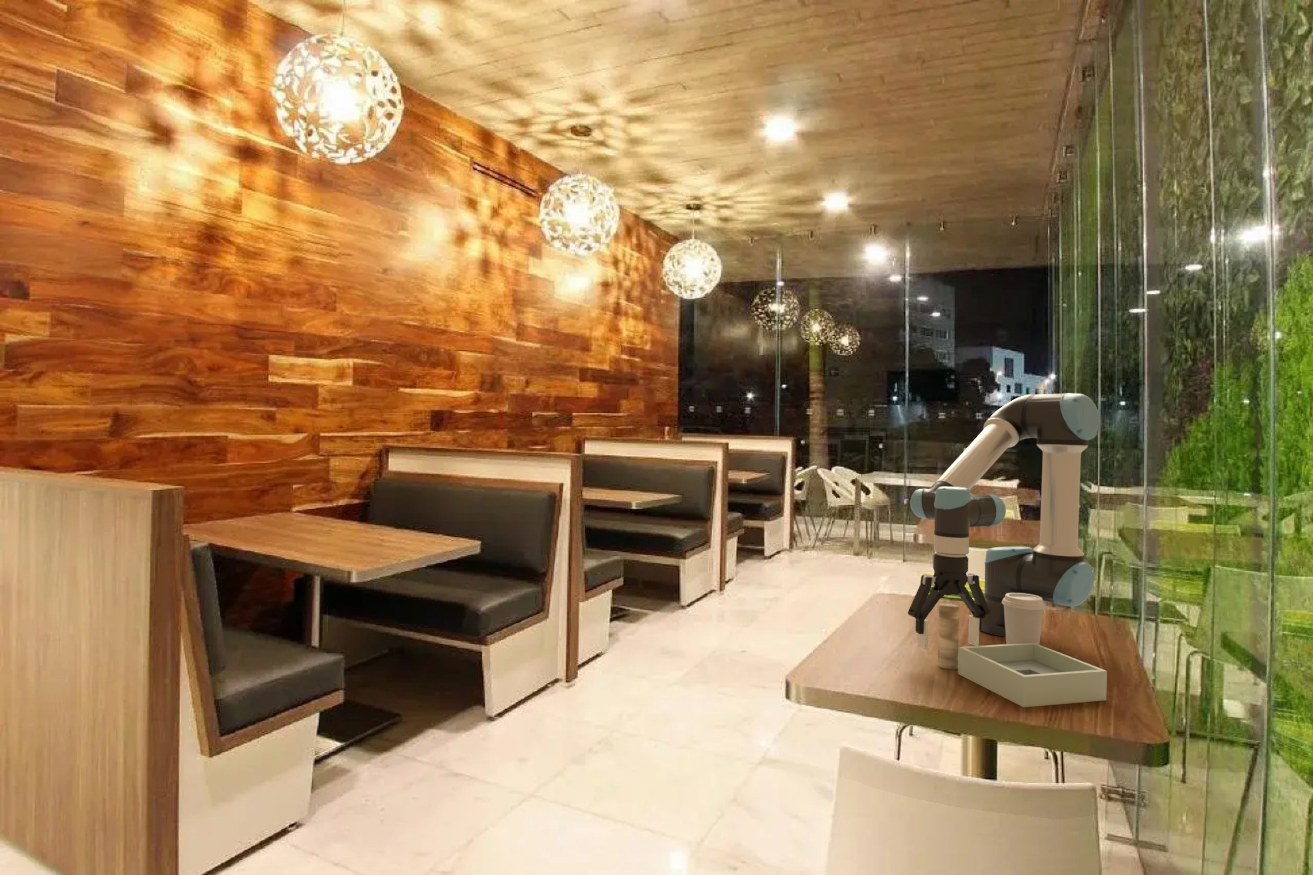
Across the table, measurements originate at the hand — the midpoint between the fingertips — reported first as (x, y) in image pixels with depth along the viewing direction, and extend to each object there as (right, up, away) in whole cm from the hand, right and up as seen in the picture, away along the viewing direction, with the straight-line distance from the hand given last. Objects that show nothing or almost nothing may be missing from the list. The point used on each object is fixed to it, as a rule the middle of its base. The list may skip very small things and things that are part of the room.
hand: (948, 646), depth 169 cm
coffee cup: (+21, -5, +7) cm, 23 cm away
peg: (0, -5, 0) cm, 5 cm away
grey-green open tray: (+12, -5, -12) cm, 18 cm away
